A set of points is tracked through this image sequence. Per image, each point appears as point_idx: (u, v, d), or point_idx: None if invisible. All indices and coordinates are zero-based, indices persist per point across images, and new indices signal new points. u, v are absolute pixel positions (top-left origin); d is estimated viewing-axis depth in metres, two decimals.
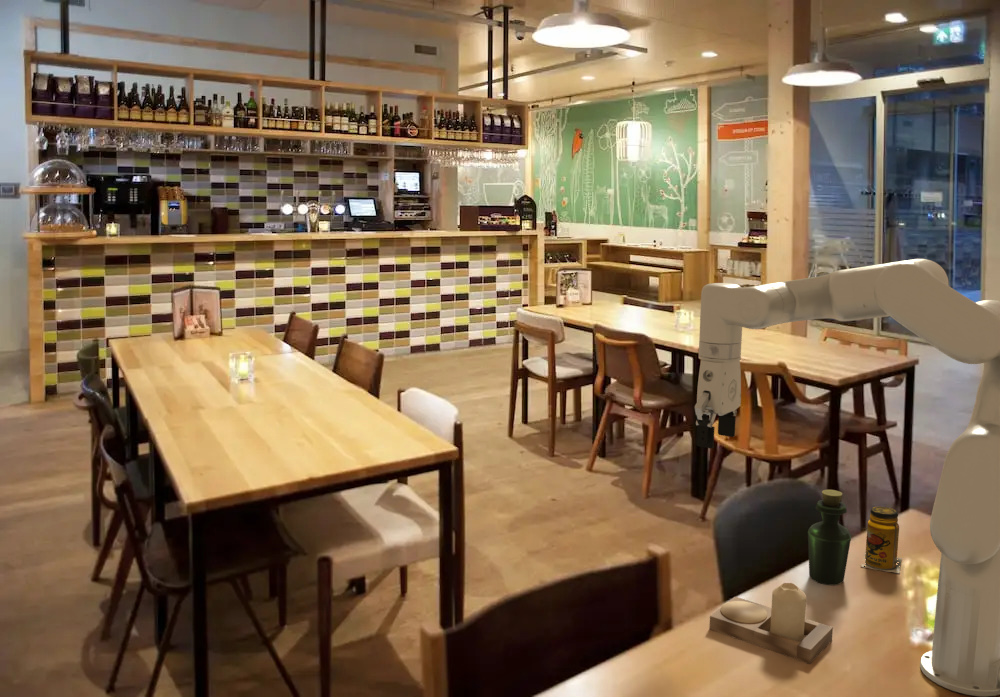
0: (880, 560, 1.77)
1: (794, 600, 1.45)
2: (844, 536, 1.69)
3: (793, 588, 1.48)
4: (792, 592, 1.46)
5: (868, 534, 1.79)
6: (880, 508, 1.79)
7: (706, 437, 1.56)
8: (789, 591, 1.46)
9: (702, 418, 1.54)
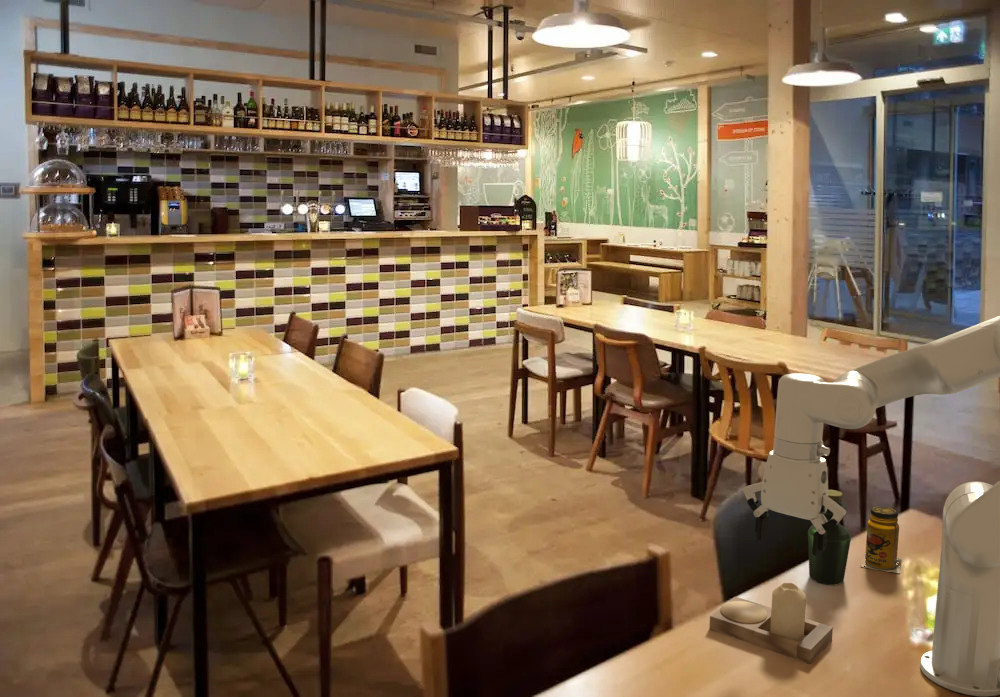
0: (880, 560, 1.77)
1: (794, 600, 1.45)
2: (844, 536, 1.69)
3: (793, 588, 1.48)
4: (792, 592, 1.46)
5: (868, 534, 1.79)
6: (880, 508, 1.79)
7: (825, 542, 1.43)
8: (789, 591, 1.46)
9: (838, 522, 1.41)
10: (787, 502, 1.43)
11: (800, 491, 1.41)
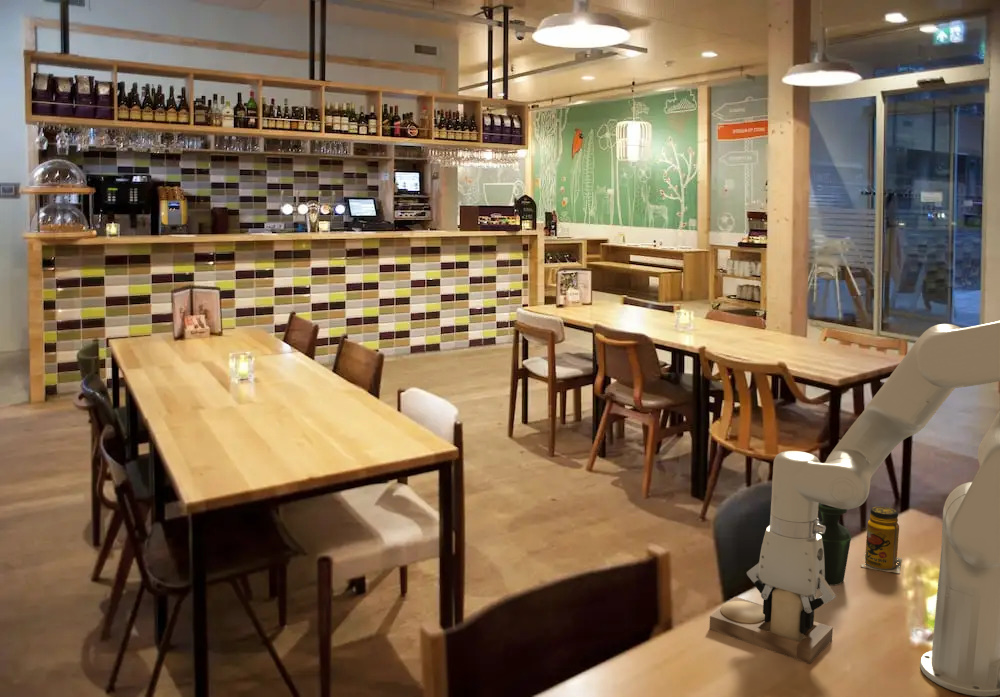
0: (880, 560, 1.77)
1: (794, 600, 1.45)
2: (844, 536, 1.69)
3: None
4: None
5: (868, 534, 1.79)
6: (880, 508, 1.79)
7: (813, 619, 1.46)
8: None
9: None
10: (785, 578, 1.45)
11: (797, 568, 1.43)
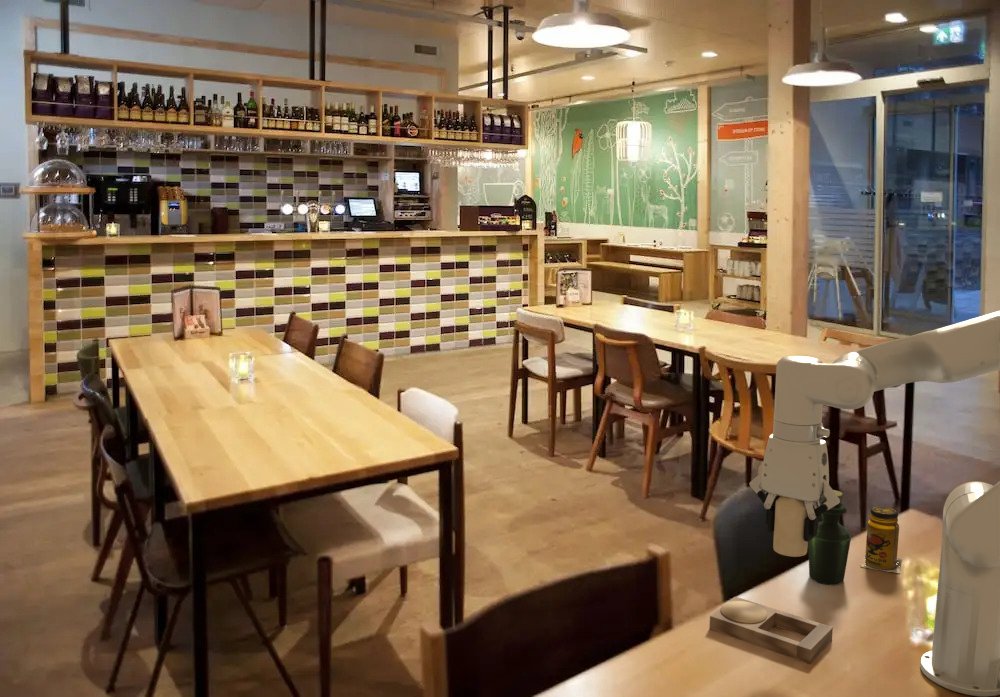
0: (880, 560, 1.77)
1: (798, 507, 1.42)
2: (844, 536, 1.69)
3: None
4: None
5: (868, 534, 1.79)
6: (880, 508, 1.79)
7: (817, 527, 1.43)
8: None
9: None
10: (788, 485, 1.43)
11: (801, 473, 1.41)
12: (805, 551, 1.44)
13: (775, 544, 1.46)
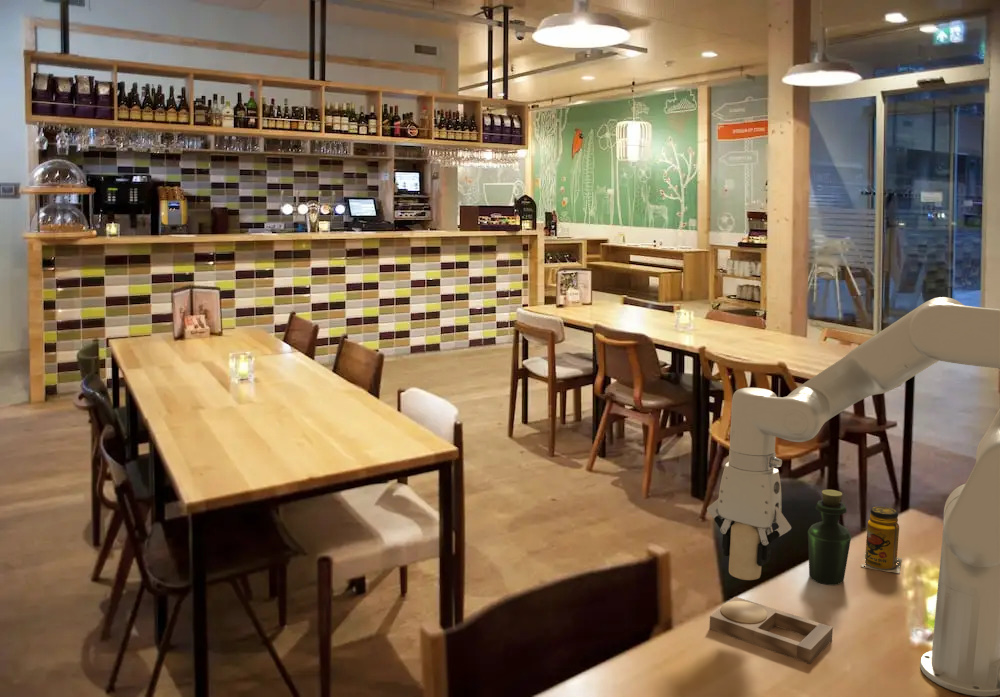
0: (880, 560, 1.77)
1: (752, 532, 1.48)
2: (844, 536, 1.69)
3: None
4: None
5: (868, 534, 1.79)
6: (880, 508, 1.79)
7: (770, 552, 1.49)
8: None
9: None
10: (743, 512, 1.49)
11: (754, 501, 1.47)
12: (758, 575, 1.50)
13: (730, 567, 1.52)
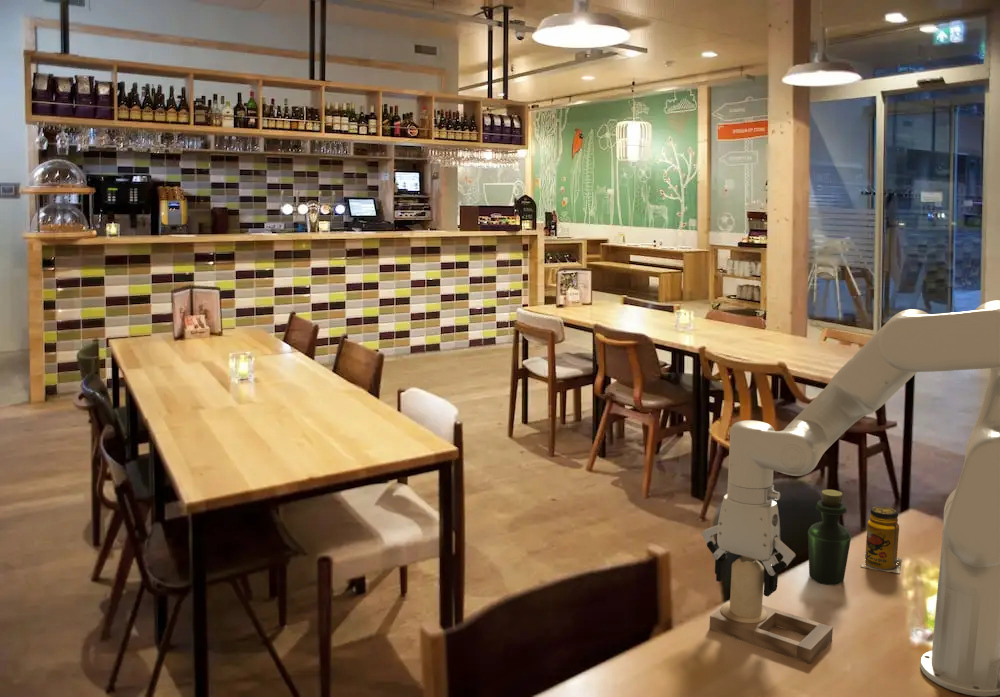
0: (880, 560, 1.77)
1: (752, 571, 1.49)
2: (844, 536, 1.69)
3: (752, 560, 1.52)
4: (750, 564, 1.50)
5: (868, 534, 1.79)
6: (880, 508, 1.79)
7: (776, 582, 1.49)
8: (747, 563, 1.50)
9: (787, 564, 1.47)
10: (741, 544, 1.50)
11: (753, 534, 1.48)
12: (759, 613, 1.51)
13: (731, 605, 1.53)
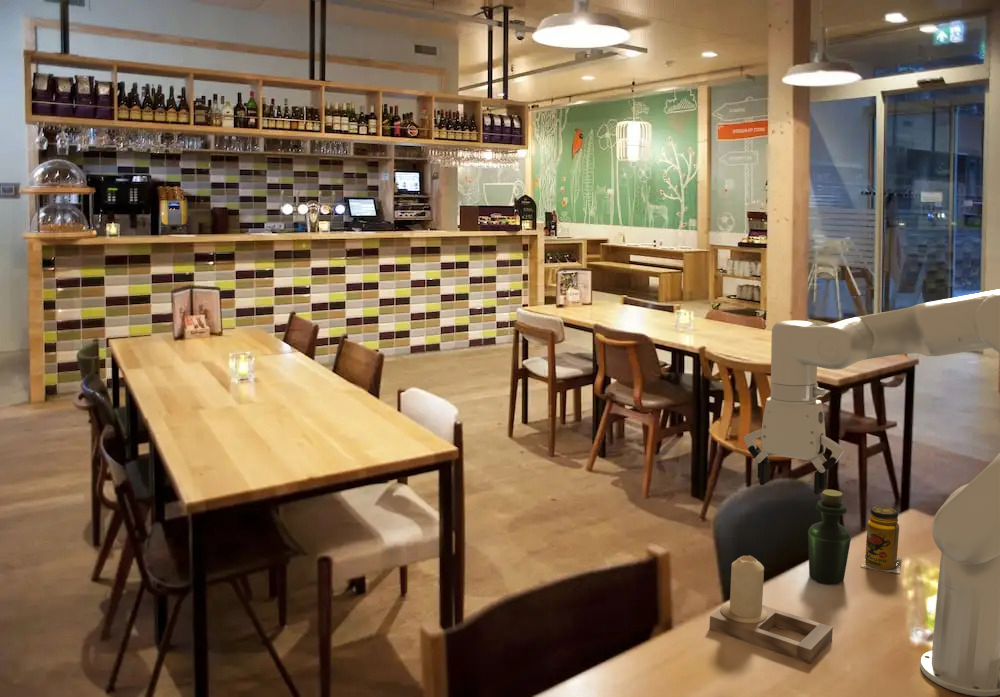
0: (880, 560, 1.77)
1: (752, 571, 1.49)
2: (844, 536, 1.69)
3: (751, 560, 1.52)
4: (750, 564, 1.50)
5: (868, 534, 1.79)
6: (880, 508, 1.79)
7: (826, 480, 1.48)
8: (747, 563, 1.50)
9: (837, 460, 1.46)
10: (787, 444, 1.49)
11: (799, 432, 1.47)
12: (759, 613, 1.51)
13: (731, 605, 1.53)
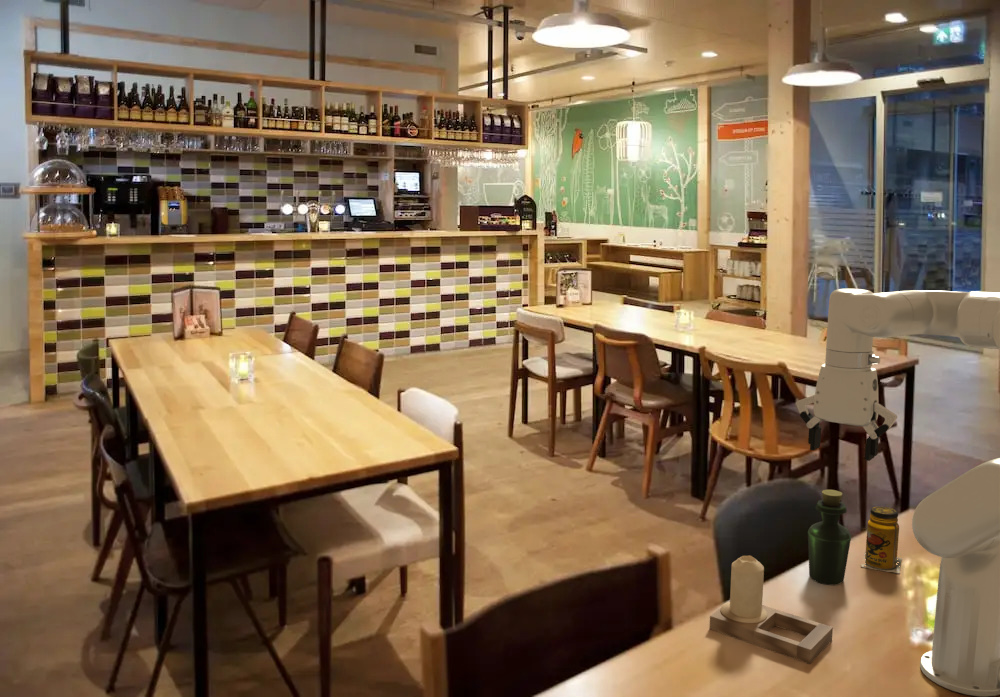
0: (880, 560, 1.77)
1: (752, 571, 1.49)
2: (844, 536, 1.69)
3: (751, 560, 1.52)
4: (750, 564, 1.50)
5: (868, 534, 1.79)
6: (880, 508, 1.79)
7: (877, 447, 1.50)
8: (747, 563, 1.50)
9: (889, 427, 1.49)
10: (840, 410, 1.51)
11: (852, 399, 1.49)
12: (759, 613, 1.51)
13: (731, 605, 1.53)
